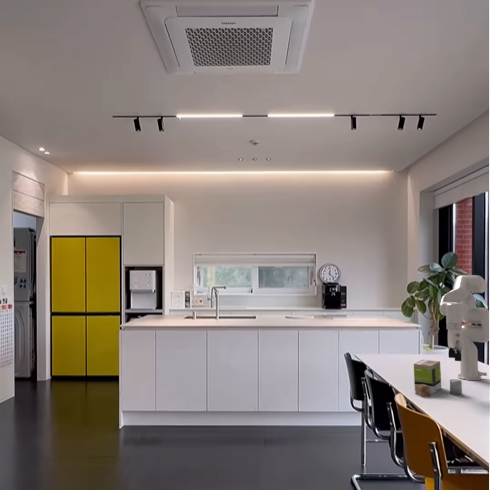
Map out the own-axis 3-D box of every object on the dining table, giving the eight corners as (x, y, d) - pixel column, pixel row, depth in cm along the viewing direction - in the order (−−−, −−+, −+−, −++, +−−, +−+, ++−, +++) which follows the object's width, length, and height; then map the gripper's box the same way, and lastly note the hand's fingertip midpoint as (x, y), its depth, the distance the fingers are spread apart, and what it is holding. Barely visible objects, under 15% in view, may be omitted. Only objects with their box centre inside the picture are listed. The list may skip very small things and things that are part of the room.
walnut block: (423, 393, 243) (423, 384, 243) (429, 396, 238) (429, 386, 238) (415, 394, 241) (415, 384, 242) (421, 396, 237) (420, 386, 237)
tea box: (423, 385, 260) (422, 358, 261) (441, 388, 253) (441, 361, 254) (414, 390, 248) (413, 363, 249) (433, 393, 242) (432, 365, 243)
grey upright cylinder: (459, 392, 244) (459, 379, 244) (463, 395, 238) (463, 381, 239) (448, 392, 245) (448, 379, 245) (452, 395, 239) (451, 381, 239)
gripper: (467, 328, 234) (468, 362, 233) (456, 325, 251) (456, 356, 250) (452, 328, 235) (452, 362, 234) (441, 324, 252) (442, 356, 251)
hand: (454, 359), depth 242 cm, fingers open, 9 cm apart
